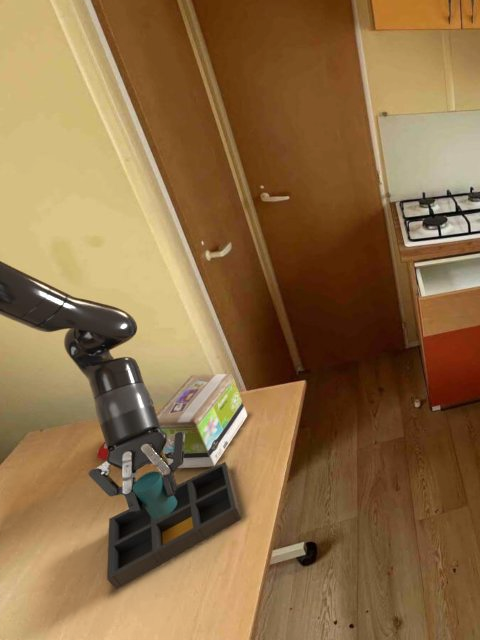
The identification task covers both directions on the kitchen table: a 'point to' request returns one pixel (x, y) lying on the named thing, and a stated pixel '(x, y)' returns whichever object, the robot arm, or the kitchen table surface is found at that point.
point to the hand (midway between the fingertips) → (156, 503)
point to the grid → (171, 526)
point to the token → (154, 495)
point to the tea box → (203, 418)
